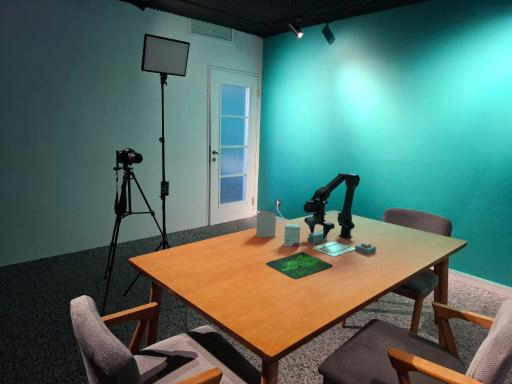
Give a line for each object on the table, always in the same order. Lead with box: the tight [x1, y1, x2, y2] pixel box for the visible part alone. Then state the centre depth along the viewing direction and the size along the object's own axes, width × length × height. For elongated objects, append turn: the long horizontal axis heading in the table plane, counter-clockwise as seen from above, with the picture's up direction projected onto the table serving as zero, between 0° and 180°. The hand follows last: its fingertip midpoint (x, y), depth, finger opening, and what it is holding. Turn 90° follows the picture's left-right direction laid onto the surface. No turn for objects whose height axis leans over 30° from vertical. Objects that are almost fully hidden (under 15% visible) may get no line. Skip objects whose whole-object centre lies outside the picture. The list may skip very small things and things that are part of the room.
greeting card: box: [255, 210, 277, 238], centre depth 207 cm, size 11×7×15 cm, turn 58°
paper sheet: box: [312, 240, 355, 258], centre depth 192 cm, size 20×15×1 cm
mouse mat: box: [265, 251, 333, 280], centre depth 169 cm, size 27×22×1 cm
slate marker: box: [306, 230, 328, 245], centre depth 203 cm, size 14×4×5 cm, turn 130°
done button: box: [360, 241, 372, 248], centre depth 190 cm, size 4×4×3 cm
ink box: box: [283, 223, 301, 248], centre depth 195 cm, size 9×5×12 cm, turn 84°
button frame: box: [354, 243, 377, 256], centre depth 191 cm, size 8×8×3 cm
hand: (318, 236), depth 204 cm, fingers open, 9 cm apart
